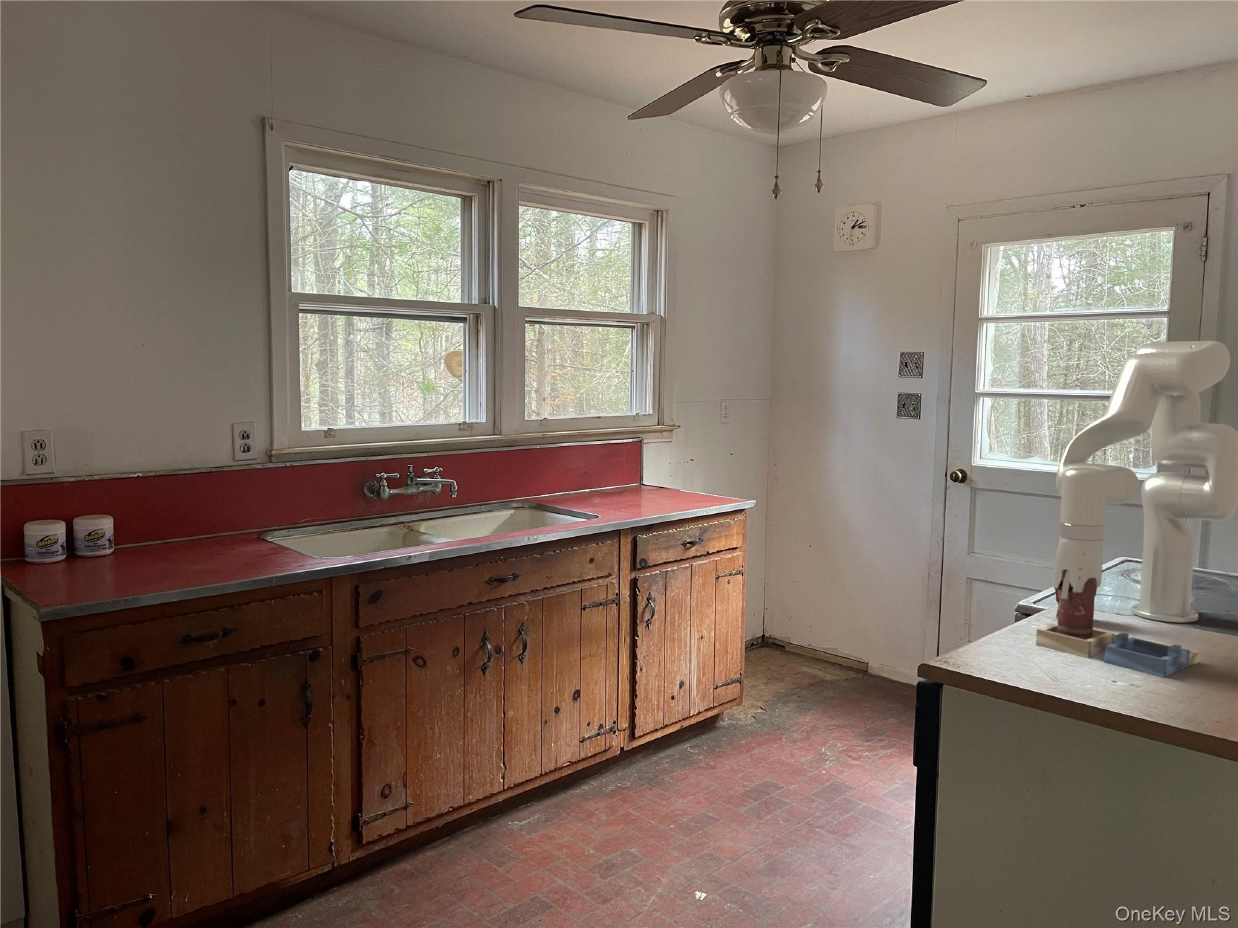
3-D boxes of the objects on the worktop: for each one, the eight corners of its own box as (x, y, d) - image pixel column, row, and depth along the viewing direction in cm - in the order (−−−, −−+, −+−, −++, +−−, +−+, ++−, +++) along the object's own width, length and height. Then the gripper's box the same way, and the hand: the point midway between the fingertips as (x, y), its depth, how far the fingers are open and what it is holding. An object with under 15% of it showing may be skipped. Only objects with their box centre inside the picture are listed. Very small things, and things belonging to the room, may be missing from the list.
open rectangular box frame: (1073, 632, 180) (1074, 611, 180) (1198, 662, 161) (1200, 638, 161) (1035, 644, 172) (1037, 621, 172) (1163, 677, 153) (1165, 651, 153)
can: (1097, 652, 167) (1102, 579, 166) (1061, 650, 169) (1065, 578, 167) (1087, 643, 173) (1091, 573, 172) (1052, 640, 174) (1056, 571, 173)
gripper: (1081, 525, 176) (1077, 615, 178) (1041, 533, 167) (1037, 628, 169) (1120, 531, 170) (1115, 623, 172) (1081, 539, 161) (1076, 637, 163)
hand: (1076, 625), depth 171 cm, fingers closed
